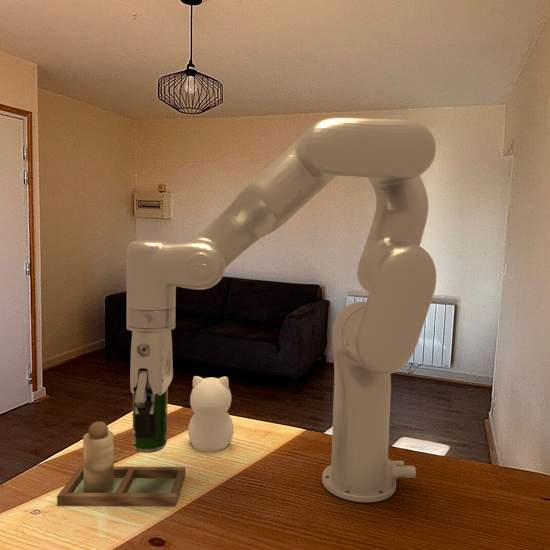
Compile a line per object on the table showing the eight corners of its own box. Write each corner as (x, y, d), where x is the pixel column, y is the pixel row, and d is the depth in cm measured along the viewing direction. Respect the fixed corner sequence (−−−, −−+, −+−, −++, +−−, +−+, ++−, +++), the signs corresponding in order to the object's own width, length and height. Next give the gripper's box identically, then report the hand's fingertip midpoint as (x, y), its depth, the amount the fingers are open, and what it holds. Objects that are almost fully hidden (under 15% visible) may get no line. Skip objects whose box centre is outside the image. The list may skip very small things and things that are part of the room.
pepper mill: (117, 482, 82) (116, 416, 81) (108, 496, 78) (108, 427, 77) (89, 481, 82) (88, 416, 81) (79, 496, 78) (78, 427, 77)
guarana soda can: (138, 456, 76) (139, 380, 75) (128, 443, 80) (128, 371, 79) (172, 449, 79) (172, 375, 78) (160, 436, 83) (160, 367, 82)
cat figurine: (183, 459, 93) (184, 382, 92) (193, 431, 106) (194, 363, 104) (231, 460, 93) (232, 383, 92) (235, 432, 106) (236, 364, 104)
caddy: (185, 480, 85) (185, 466, 85) (175, 511, 76) (175, 496, 75) (80, 479, 85) (80, 466, 84) (57, 511, 75) (57, 496, 75)
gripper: (164, 330, 69) (163, 454, 71) (183, 310, 86) (182, 410, 88) (110, 328, 69) (110, 453, 71) (140, 309, 86) (140, 410, 88)
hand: (150, 428), depth 79 cm, fingers closed on guarana soda can, 5 cm apart
